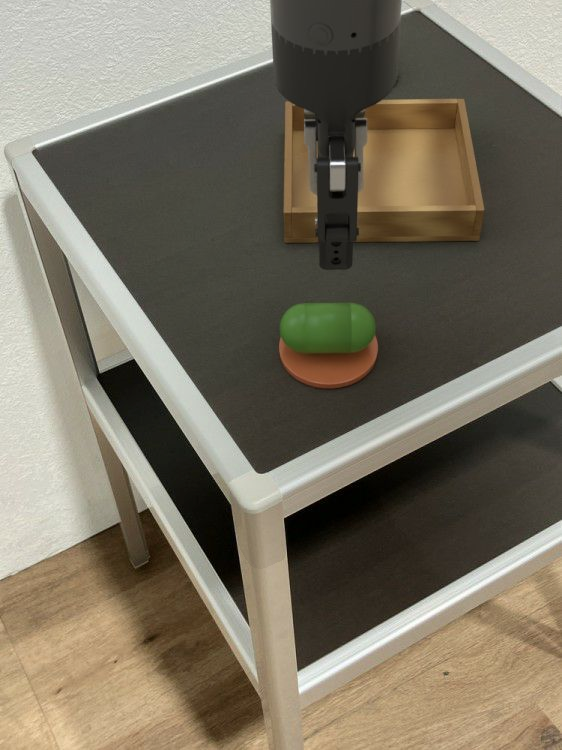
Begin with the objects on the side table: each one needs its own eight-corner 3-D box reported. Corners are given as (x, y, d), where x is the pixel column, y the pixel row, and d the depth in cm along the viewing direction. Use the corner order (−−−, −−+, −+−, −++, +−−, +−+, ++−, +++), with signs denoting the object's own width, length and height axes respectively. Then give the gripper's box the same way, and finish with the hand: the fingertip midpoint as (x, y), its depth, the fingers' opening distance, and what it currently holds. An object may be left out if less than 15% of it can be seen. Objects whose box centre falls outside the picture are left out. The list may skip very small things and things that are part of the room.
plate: (375, 314, 81) (375, 309, 80) (380, 388, 76) (380, 383, 75) (279, 314, 81) (279, 310, 81) (278, 389, 76) (278, 384, 76)
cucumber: (373, 328, 79) (375, 291, 76) (375, 363, 77) (378, 327, 74) (280, 328, 79) (279, 292, 77) (279, 364, 77) (278, 328, 74)
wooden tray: (459, 129, 97) (464, 98, 94) (479, 241, 86) (484, 210, 83) (286, 131, 97) (285, 101, 94) (284, 243, 87) (283, 212, 84)
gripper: (410, 79, 51) (393, 295, 63) (393, -52, 60) (382, 159, 72) (267, 83, 51) (279, 297, 64) (272, -49, 60) (282, 161, 73)
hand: (334, 223), depth 68 cm, fingers open, 8 cm apart
